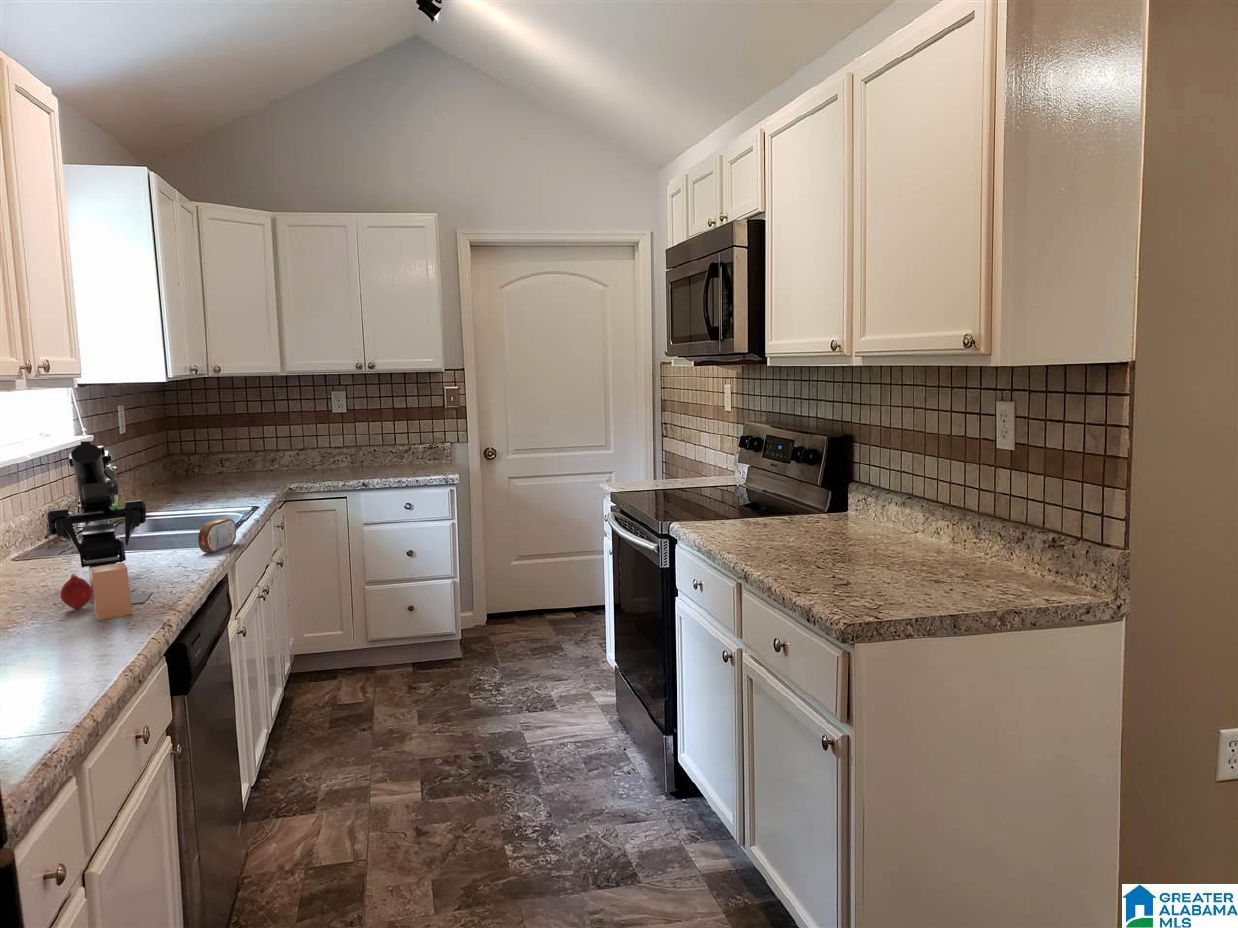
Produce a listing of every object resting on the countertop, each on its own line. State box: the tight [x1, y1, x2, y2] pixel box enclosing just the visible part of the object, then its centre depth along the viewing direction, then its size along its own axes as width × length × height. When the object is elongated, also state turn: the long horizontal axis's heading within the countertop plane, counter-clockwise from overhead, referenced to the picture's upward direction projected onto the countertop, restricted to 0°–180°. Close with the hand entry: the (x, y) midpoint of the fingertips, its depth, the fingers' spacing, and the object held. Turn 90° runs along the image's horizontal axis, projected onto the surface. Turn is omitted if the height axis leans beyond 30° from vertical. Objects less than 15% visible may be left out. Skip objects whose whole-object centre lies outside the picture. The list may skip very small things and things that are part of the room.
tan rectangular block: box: [89, 562, 133, 621], centre depth 190 cm, size 6×6×10 cm
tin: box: [197, 517, 237, 554], centre depth 252 cm, size 15×3×8 cm, turn 172°
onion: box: [59, 573, 93, 611], centre depth 195 cm, size 6×6×8 cm
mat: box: [130, 591, 154, 606], centre depth 202 cm, size 9×9×1 cm
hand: (103, 547), depth 196 cm, fingers open, 9 cm apart
